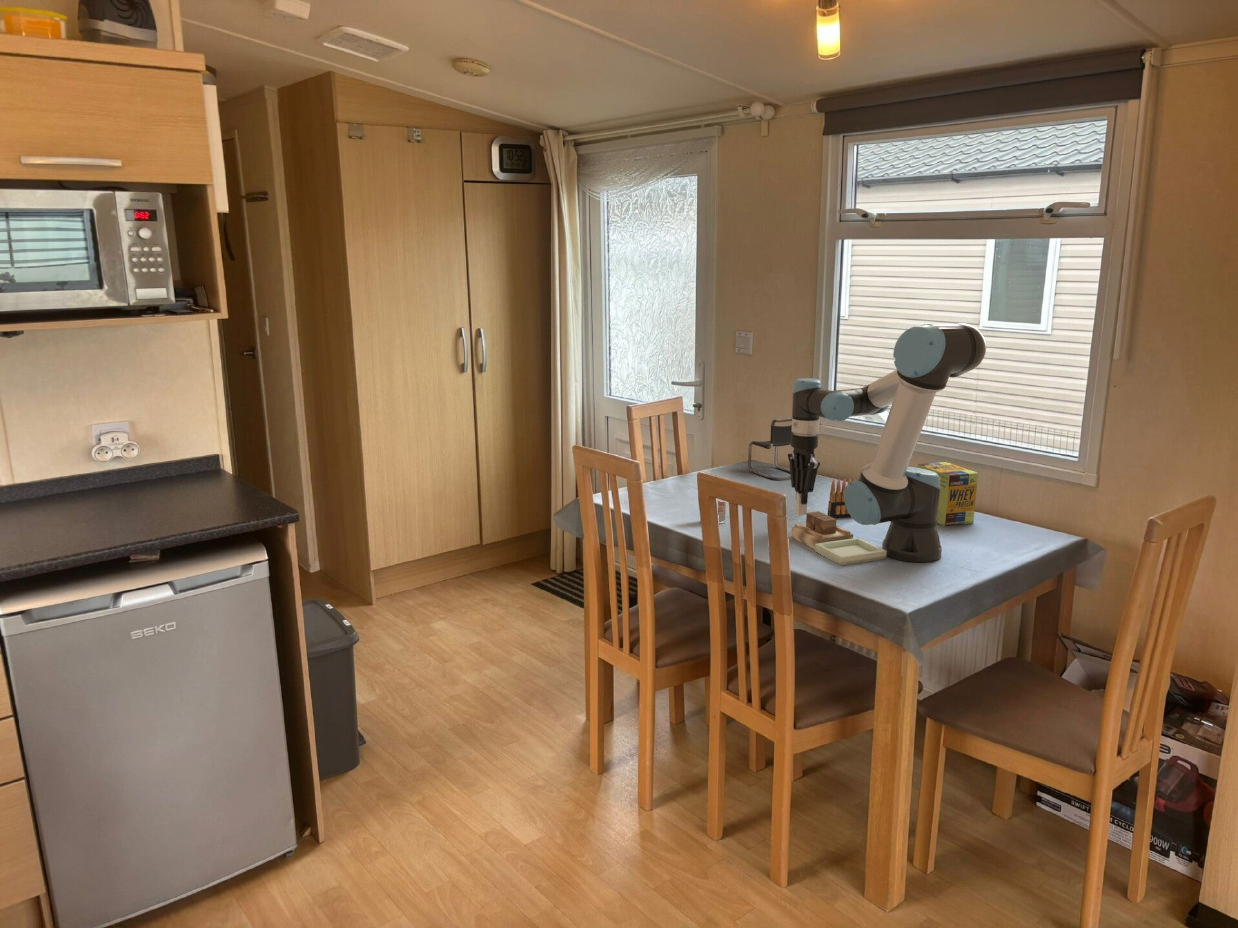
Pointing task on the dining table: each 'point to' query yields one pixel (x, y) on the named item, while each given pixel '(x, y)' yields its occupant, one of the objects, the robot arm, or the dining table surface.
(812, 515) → the walnut block rear
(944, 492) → the protein box
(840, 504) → the ammunition clip
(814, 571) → the dining table surface
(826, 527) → the walnut block front
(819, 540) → the slot board
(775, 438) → the chair
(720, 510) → the tea bag
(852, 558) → the sage tray
